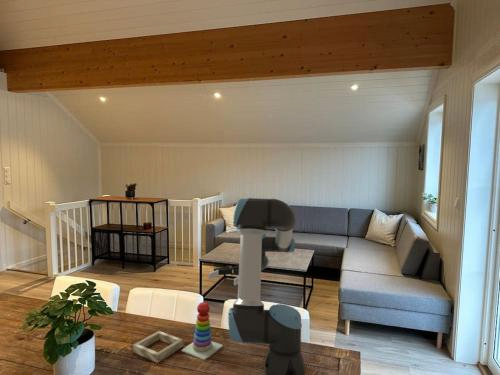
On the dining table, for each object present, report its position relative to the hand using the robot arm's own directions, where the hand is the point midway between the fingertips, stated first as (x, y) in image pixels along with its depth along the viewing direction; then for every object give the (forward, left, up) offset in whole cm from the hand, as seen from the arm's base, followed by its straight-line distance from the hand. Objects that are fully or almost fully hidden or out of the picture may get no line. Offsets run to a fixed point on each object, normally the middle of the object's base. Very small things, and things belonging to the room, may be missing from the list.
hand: (221, 279), depth 147 cm
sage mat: (+2, +11, -27) cm, 29 cm away
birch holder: (+17, +21, -27) cm, 37 cm away
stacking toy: (+2, +10, -26) cm, 28 cm away
